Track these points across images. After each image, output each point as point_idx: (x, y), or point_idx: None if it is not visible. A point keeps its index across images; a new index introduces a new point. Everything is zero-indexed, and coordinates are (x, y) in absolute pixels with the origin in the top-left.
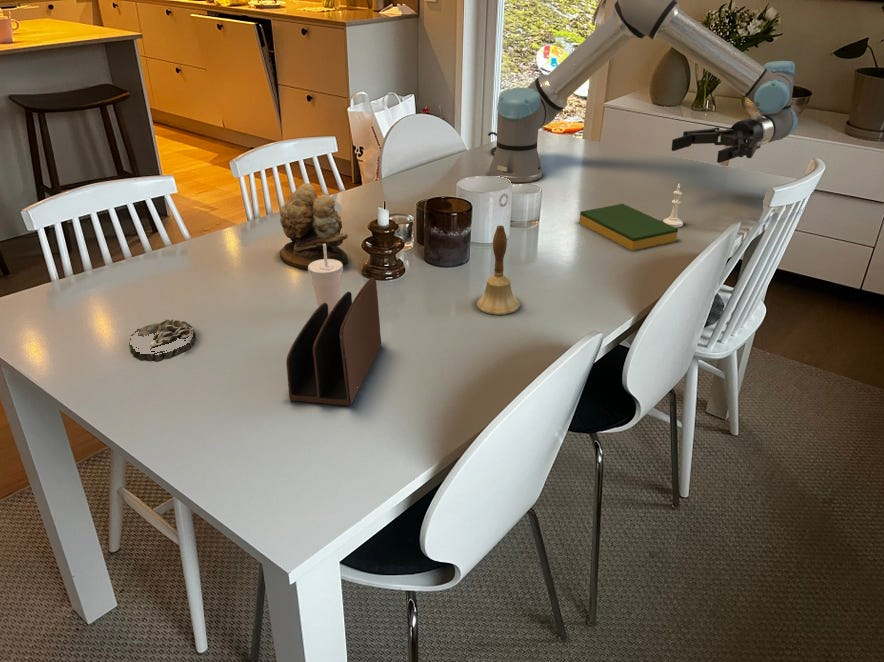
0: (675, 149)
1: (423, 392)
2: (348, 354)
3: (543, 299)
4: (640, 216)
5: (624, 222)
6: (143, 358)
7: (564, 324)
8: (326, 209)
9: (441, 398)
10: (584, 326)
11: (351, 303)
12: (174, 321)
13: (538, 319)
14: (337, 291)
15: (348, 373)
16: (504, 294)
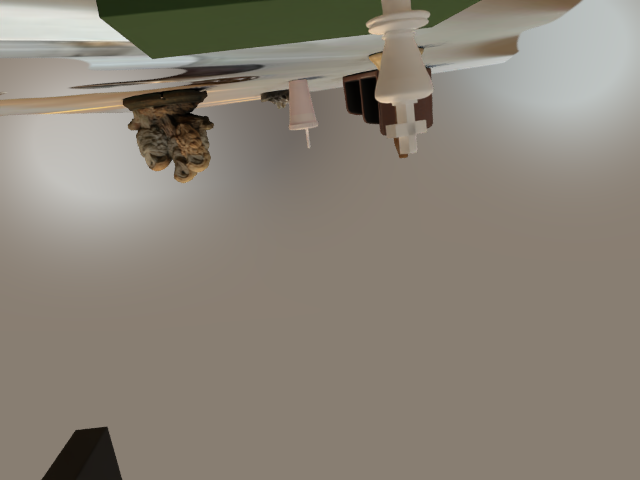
0: (101, 453)
1: (456, 59)
2: (428, 105)
3: (428, 40)
4: (308, 7)
5: (320, 28)
6: None
7: (493, 34)
8: (210, 158)
9: (473, 56)
10: (519, 29)
11: (366, 112)
12: (283, 107)
13: (458, 41)
14: (311, 104)
15: (431, 93)
16: None
